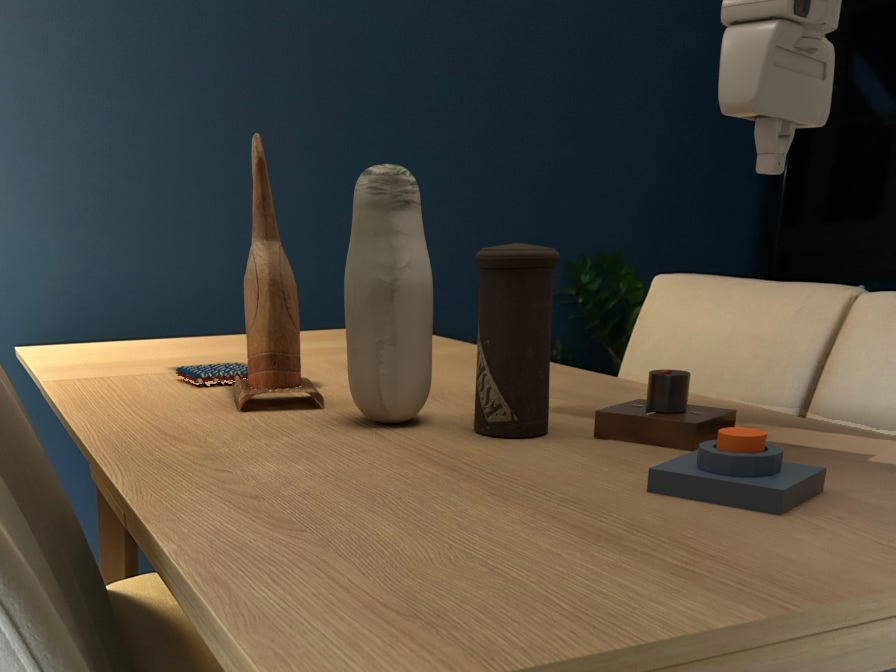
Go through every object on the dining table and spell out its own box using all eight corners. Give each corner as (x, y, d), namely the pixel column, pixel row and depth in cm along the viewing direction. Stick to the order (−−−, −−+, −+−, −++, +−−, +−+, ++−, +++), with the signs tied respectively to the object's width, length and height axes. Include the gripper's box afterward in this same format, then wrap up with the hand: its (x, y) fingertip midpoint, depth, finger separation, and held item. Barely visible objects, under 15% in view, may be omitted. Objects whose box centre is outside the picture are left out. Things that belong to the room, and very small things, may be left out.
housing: (822, 491, 86) (830, 447, 84) (780, 516, 79) (787, 467, 77) (696, 471, 93) (700, 430, 91) (646, 492, 86) (650, 447, 84)
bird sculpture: (312, 394, 136) (300, 138, 123) (327, 408, 125) (316, 130, 113) (231, 398, 133) (211, 136, 120) (240, 413, 123) (219, 128, 110)
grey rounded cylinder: (442, 426, 114) (443, 161, 103) (356, 431, 112) (348, 160, 101) (421, 412, 123) (420, 166, 112) (341, 416, 120) (332, 166, 109)
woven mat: (264, 382, 146) (263, 369, 145) (196, 388, 141) (195, 374, 140) (239, 374, 154) (238, 361, 154) (174, 379, 149) (173, 366, 149)
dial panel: (733, 437, 108) (737, 408, 107) (693, 452, 101) (697, 421, 100) (636, 424, 115) (638, 397, 114) (593, 437, 108) (595, 408, 107)
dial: (657, 404, 110) (661, 365, 108) (693, 409, 107) (698, 368, 105) (638, 410, 106) (641, 369, 105) (675, 414, 104) (679, 373, 102)
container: (478, 423, 116) (482, 242, 108) (553, 425, 114) (563, 242, 106) (466, 437, 108) (470, 243, 100) (547, 440, 106) (557, 244, 99)
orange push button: (771, 451, 85) (774, 430, 84) (753, 458, 82) (755, 438, 81) (727, 444, 87) (729, 425, 86) (708, 452, 84) (710, 432, 83)
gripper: (795, 30, 100) (776, 178, 106) (713, -3, 86) (696, 171, 91) (859, 22, 96) (835, 176, 102) (784, -13, 82) (762, 169, 87)
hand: (769, 174), depth 96 cm, fingers closed
